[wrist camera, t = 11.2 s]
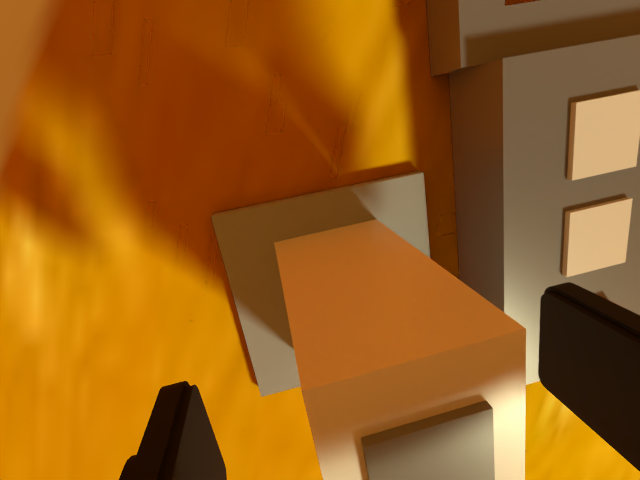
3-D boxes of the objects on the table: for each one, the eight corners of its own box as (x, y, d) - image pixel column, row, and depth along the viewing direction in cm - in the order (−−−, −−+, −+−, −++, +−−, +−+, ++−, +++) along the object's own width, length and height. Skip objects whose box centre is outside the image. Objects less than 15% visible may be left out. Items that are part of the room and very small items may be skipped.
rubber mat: (417, 171, 14) (423, 172, 14) (432, 342, 17) (437, 349, 16) (212, 213, 13) (210, 216, 13) (261, 388, 16) (261, 396, 15)
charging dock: (665, -300, 11) (849, -491, 8) (605, 308, 18) (688, 350, 14) (407, -288, 10) (486, -498, 7) (449, 351, 17) (498, 406, 13)
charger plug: (376, 219, 14) (535, 335, 6) (391, 330, 15) (530, 532, 8) (274, 242, 13) (303, 399, 6) (300, 353, 15) (351, 595, 7)
